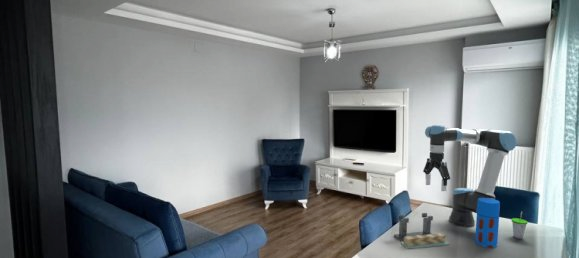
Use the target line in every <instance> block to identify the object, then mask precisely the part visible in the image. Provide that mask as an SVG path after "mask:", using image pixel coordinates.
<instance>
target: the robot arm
mask: <svg viewBox="0 0 579 258" xmlns="http://www.w3.org/2000/svg"><path fill="white" fill-rule="evenodd" d="M424 134H425V137H426V138H428V139H429V140H430V141H429V144H430V145H429V151H430V152H429V157H428V158H426V163H425V165H424V168H423V170H422V172H423V173H424V174H425V186H431V181H432V180H431V179H432V178H431V176H432V175H431V172H432V171H433V170H434V169H437V170H438V172H439V174H440V176H441V178H442V179H441V187H440V188H441V189H440V191H441V192H446V191H447V187H448V180H451V175H450V172H449V169H448V165H447V164H448V163H447V161H443V160H444V159H445V153H444V152H445V143H446V142H466V143H469V144H471V145H478V146H481V147H485V148H486V151H487V152H488V153H487V156H486V160H485V163H484V167H483V170H482V173H481V177H480V180H479V183H478V186H477V188H476V189H473V188H468V187H458V188H454V189H453V193H452V208H451V209H452V210H451V212H450V215H449V217H448V221H449V223H451V224H453V225H456V226H459V227H465V228H467V227H468V228H469V227H474V226H476V220H475V219H474V214H473V213H475V214H477V202H478V198H490V199H495V200H496V196H495V194H494V192H495V189H496V186H497V183H498V179H499V175H500V172H501V169H502V167H503V162H504V160H505V157H506V156H508V155H509V152H510V151H513V150H514V149H515V148H516V146H517V137H516V135H515V134H514V133H513V132H511V131H508V130H500V129H499V130H497V129H491V128H490V129H471V130H470V129H469V130H467V129H461V128H458V127H452V128H451V127H445V125H437V124H434V125H431V126H427V127H426V128H425V130H424Z"/></svg>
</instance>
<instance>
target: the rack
mask: <svg viewBox="0 0 579 258" xmlns="http://www.w3.org/2000/svg"><path fill="white" fill-rule="evenodd" d="M421 218H423V219H422V220H423V221H422V231H416V232H407V229H408V227H407V226H408V224H409V223H410V222H409V221H410V218H409V217H404V214H398V215H397V220H399V222H398V223H399V224H398V225H399V226H398V233H394V234H393V236H394V238H396V239H397V240H398V241H399V240H400V241H399V242H404V237H406V236H417V235H427V234H433V233H432V232H431V227H432V221H434V216H433V215H428V213H427V212H422V213H421Z"/></svg>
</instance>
